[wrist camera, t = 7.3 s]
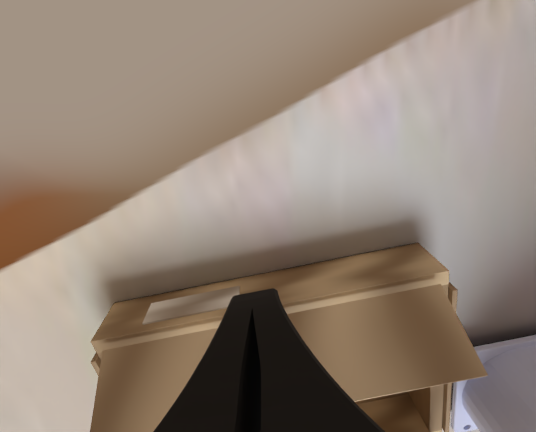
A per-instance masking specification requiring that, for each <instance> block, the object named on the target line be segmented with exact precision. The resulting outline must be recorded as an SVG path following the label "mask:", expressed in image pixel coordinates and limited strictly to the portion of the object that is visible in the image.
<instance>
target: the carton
mask: <svg viewBox="0 0 536 432" xmlns="http://www.w3.org/2000/svg"><path fill="white" fill-rule="evenodd" d="M437 284H441V286H442V288H443V289H444V291H445V293H446V295H447V297H448V299H449V301H450V303H451V305H452V307H453V309H454V311H455V313H456V306H457V289H456V288H455V287H454V286H453V285H452V284H451V283H450V282H449V270H448V269H447V268H446V267H444V266H443V265H442V264H441V263H440V262H439V261H438V260H437V259H436V258H434V257H433V256H432V255H431V254H430V253H429V252H428V251H427V250H425V249H424V248H423V247H422V246H421V245H420V244H419V243H414V244H409V245H404V246H399V247H394V248H389V249H383V250H378V251H373V252H368V253H363V254H358V255H353V256H348V257H343V258H338V259H333V260H328V261H323V262H318V263H313V264H308V265H303V266H298V267H293V268H288V269H283V270H278V271H273V272H268V273H263V274H258V275H253V276H248V277H243V278H238V279H233V280H228V281H223V282H217V283H212V284H207V285H202V286H197V287H192V288H187V289H182V290H177V291H172V292H167V293H162V294H157V295H152V296H147V297H142V298H137V299H132V300H127V301H122V302H117V303H114V304H113V306H112V308H111V309H110V311H109V312H108V314H107V316H106V317H105V319H104V321H103V322H102V324H101V326H100V327H99V329H98V330H97V332H96V334H95V335H94V337H93V339H92V340H91V343H92V345H93V347H94V349H95V351H96V354H95V356H94V357H93V359H92V361H91V364H92V365H93V367H94V369H95V371H96V372H97V374H98V376H99V370H100V364H101V357H102V351H103V350H108V349H113V348H118V347H123V346H128V345H133V344H138V343H143V342H148V341H153V340H158V339H163V338H168V337H173V336H178V335H184V334H189V333H194V332H199V331H204V330H209V329H214V328H218V327H219V325H220V323H221V321H222V318H223V316H224V314H225V312H226V310H227V307H228V305H229V303H230V300H231V299H232V297H233V296H235V295H240V294H245V293H251V292H256V291H261V290H266V289H271V288H274V289H276V290H277V291H278V295H279V298H280V301H281V303H282V305H283V307H284V309H285V311H286V313H287V314H290V313H295V312H300V311H305V310H310V309H315V308H320V307H325V306H331V305H336V304H341V303H346V302H351V301H356V300H361V299H366V298H371V297H376V296H381V295H386V294H391V293H396V292H402V291H407V290H412V289H417V288H422V287H427V286H432V285H437ZM451 389H452V383H448V384H443V385H438V386H433V387H428V388H423V389H418V390H412V391H407V392H402V393H397V394H392V395H387V396H381V397H376V398H371V399H366V400H361V401H356V402H355V403H356V404H357V405H358V406H359V407H360V408H361V409H362V410H363V411H364V412H365V413H366V414H367V415H368V416H369V417H370V418H371V419H372V420H373V421H374V422H376V423H377V424H378V425H379V426H380V427H381V428H382V429H383V430H384V431H385V432H442V428H443V430H444V432H449V422H450V405H451Z"/></svg>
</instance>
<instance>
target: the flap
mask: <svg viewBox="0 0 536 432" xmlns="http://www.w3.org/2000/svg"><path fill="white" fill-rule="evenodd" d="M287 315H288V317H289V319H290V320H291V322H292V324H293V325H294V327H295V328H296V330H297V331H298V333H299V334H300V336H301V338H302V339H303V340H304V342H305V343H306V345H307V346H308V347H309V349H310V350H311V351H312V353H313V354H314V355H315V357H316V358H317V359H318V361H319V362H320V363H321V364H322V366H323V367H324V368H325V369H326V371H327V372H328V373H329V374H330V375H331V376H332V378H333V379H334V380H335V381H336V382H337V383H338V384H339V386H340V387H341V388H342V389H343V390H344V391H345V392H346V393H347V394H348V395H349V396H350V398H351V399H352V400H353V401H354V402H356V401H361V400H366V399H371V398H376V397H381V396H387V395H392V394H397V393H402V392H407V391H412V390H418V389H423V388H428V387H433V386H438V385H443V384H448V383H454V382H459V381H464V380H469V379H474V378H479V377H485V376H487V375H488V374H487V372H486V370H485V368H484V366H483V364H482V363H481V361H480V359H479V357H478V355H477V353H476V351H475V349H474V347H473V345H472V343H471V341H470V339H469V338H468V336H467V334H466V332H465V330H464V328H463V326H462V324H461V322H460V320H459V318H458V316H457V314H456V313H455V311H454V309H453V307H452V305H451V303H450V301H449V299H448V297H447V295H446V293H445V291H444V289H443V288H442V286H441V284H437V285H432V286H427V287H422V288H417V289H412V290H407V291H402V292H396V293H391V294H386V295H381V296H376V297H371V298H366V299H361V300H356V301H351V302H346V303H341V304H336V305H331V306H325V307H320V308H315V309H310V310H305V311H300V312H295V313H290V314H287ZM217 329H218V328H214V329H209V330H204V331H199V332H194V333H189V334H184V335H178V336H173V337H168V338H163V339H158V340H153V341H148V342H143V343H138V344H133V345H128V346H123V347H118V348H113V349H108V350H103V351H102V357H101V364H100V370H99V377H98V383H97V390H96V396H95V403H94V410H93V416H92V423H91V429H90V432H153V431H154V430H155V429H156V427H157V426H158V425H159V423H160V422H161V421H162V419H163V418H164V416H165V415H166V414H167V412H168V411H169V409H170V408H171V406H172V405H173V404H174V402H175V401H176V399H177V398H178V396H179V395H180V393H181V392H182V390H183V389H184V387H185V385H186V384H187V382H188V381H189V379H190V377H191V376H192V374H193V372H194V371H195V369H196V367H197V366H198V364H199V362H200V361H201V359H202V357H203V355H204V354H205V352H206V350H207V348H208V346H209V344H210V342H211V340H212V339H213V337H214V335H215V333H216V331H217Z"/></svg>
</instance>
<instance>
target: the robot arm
mask: <svg viewBox="0 0 536 432" xmlns="http://www.w3.org/2000/svg"><path fill="white" fill-rule="evenodd" d="M474 349H475V351H476V353H477V355H478V357H479V359H480V361H481V363H482V364H483V366H484V368H485V370H486V372H487V374H488V375H487V376H485V377H479V378H474V379H469V380H464V381H459V382H454V383H453V399H452V415H451V427H452V429H453V430H454V431H455V432H466V431H471V430H476V429H479V431H480V432H536V335H532V336H527V337H522V338H517V339H512V340H507V341H502V342H496V343H491V344H486V345H481V346H476V347H474ZM153 432H385V431H384V430H383V429H382V428H381V427H380V426H379V425H378V424H377V423H376V422H374V421H373V420H372V419H371V418H370V417H369V416H368V415H367V414H366V413H365V412H364V411H363V410H362V409H361V408H360V407H359V406H358V405H357V404H356V403H355V402H354V401H353V400H352V399H351V398H350V396H349V395H348V394H347V393H346V392H345V391H344V390H343V389H342V388H341V387H340V386H339V384H338V383H337V382H336V381H335V380H334V379H333V378H332V376H331V375H330V374H329V373H328V372H327V371H326V369H325V368H324V367H323V366H322V364H321V363H320V362H319V361H318V359H317V358H316V357H315V355H314V354H313V353H312V351H311V350H310V349H309V347H308V346H307V345H306V343H305V342H304V340H303V339H302V338H301V336H300V334H299V333H298V331H297V330H296V328H295V327H294V325H293V324H292V322H291V320H290V319H289V317H288V315H287V313H286V311H285V309H284V307H283V305H282V303H281V301H280V298H279V295H278V291H277V290H276V289H274V288H271V289H266V290H261V291H256V292H251V293H245V294H240V295H235V296H233V297H232V299H231V300H230V303H229V305H228V307H227V310H226V312H225V314H224V316H223V318H222V321H221V323H220V325H219V327H218V329H217V331H216V333H215V335H214V337H213V339H212V340H211V342H210V344H209V346H208V348H207V350H206V352H205V354H204V355H203V357H202V359H201V361H200V362H199V364H198V366H197V367H196V369H195V371H194V372H193V374H192V376H191V377H190V379H189V381H188V382H187V384H186V385H185V387H184V389H183V390H182V392H181V393H180V395H179V396H178V398H177V399H176V401H175V402H174V404H173V405H172V406H171V408H170V409H169V411H168V412H167V414H166V415H165V416H164V418H163V419H162V421H161V422H160V423H159V425H158V426H157V427H156V429H155V430H154V431H153Z"/></svg>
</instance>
